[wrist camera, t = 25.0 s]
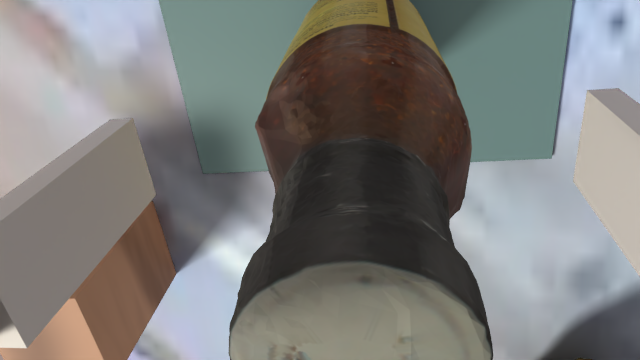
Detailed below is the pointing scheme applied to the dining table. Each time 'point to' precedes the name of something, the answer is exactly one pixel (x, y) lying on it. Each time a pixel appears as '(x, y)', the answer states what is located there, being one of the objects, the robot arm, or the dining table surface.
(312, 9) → the sauce bottle
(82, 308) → the wooden block
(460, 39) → the letter card
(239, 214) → the dining table surface
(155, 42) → the dining table surface
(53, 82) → the dining table surface
